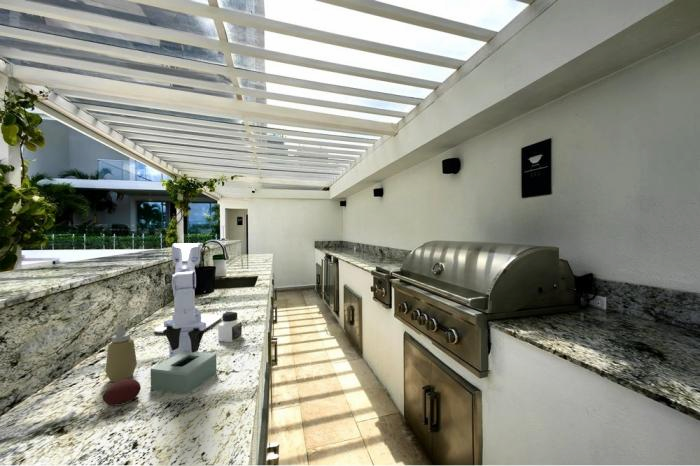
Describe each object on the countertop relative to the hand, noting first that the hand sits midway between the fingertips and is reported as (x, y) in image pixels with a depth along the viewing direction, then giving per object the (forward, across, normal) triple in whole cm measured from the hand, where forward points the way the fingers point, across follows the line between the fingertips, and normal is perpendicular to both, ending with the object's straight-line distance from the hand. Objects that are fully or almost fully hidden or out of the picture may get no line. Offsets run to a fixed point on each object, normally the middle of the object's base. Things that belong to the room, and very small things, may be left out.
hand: (185, 350), depth 89 cm
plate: (+10, -38, +44) cm, 59 cm away
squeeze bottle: (+10, -22, -3) cm, 24 cm away
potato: (+10, -9, -13) cm, 19 cm away
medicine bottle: (+10, -7, +33) cm, 35 cm away
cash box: (+10, 0, 0) cm, 10 cm away
